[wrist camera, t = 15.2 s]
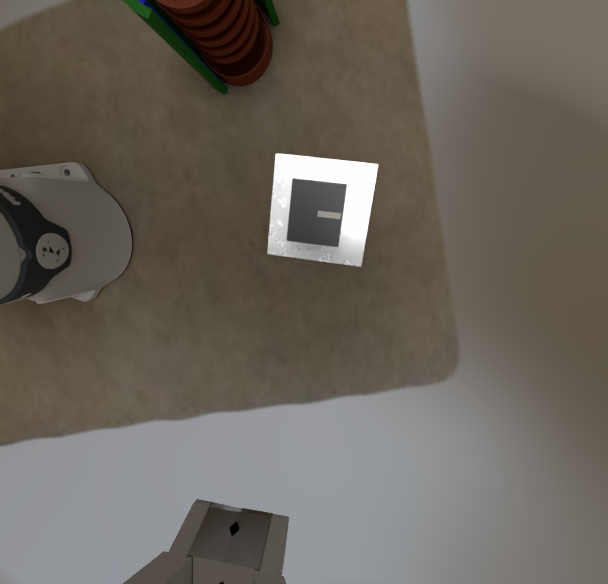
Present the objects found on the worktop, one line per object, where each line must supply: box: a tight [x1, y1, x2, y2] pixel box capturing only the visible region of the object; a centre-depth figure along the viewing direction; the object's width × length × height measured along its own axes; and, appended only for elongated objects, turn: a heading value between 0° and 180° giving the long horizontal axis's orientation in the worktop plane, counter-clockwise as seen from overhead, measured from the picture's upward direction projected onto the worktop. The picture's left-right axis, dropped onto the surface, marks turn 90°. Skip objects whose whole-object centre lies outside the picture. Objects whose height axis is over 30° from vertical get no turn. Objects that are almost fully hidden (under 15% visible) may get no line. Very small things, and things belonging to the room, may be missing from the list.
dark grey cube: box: [287, 178, 347, 247], centre depth 35 cm, size 6×6×6 cm
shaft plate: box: [267, 153, 378, 267], centre depth 37 cm, size 12×12×4 cm
